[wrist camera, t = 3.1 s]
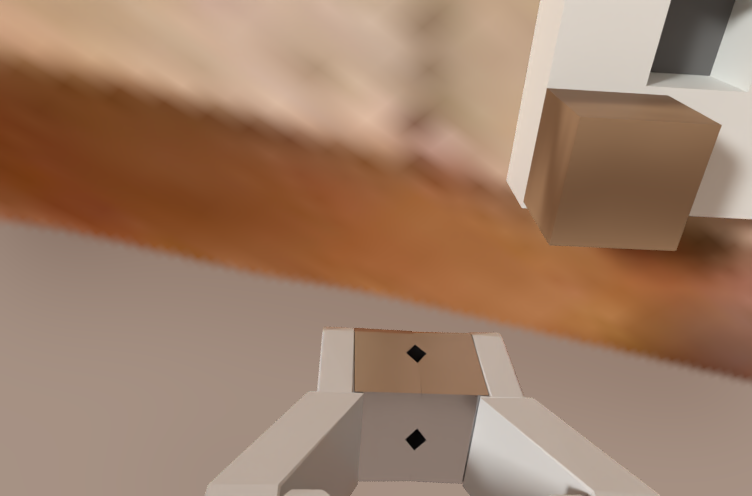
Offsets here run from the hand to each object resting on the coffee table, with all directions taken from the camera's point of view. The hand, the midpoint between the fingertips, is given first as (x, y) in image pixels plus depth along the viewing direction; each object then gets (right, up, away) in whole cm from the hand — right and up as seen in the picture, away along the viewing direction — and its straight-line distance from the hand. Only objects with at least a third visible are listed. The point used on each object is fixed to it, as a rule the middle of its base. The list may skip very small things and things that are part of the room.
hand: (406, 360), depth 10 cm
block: (+7, +5, +10) cm, 13 cm away
